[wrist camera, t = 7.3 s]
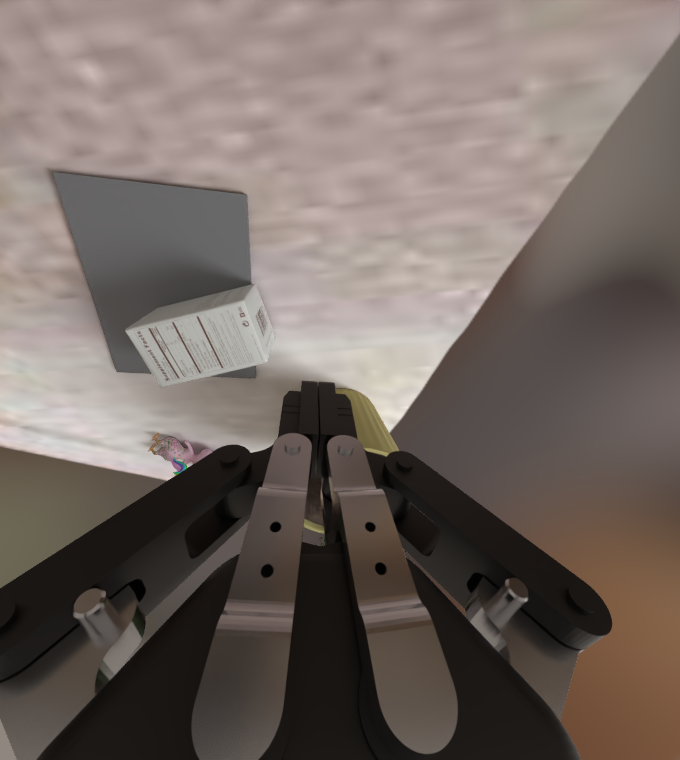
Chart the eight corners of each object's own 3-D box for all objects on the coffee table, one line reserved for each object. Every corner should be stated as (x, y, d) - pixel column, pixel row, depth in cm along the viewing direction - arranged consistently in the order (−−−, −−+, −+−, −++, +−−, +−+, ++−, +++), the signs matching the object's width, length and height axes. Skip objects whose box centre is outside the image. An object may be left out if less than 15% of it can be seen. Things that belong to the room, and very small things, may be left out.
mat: (56, 172, 29) (52, 171, 28) (247, 194, 31) (245, 194, 31) (119, 369, 40) (116, 371, 40) (256, 376, 42) (255, 378, 42)
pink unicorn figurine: (156, 446, 49) (241, 482, 52) (132, 472, 44) (227, 511, 46) (165, 419, 47) (253, 458, 49) (140, 443, 41) (240, 486, 44)
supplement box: (276, 338, 39) (185, 359, 39) (256, 281, 35) (155, 306, 36) (269, 365, 33) (160, 389, 33) (243, 299, 29) (120, 329, 29)
